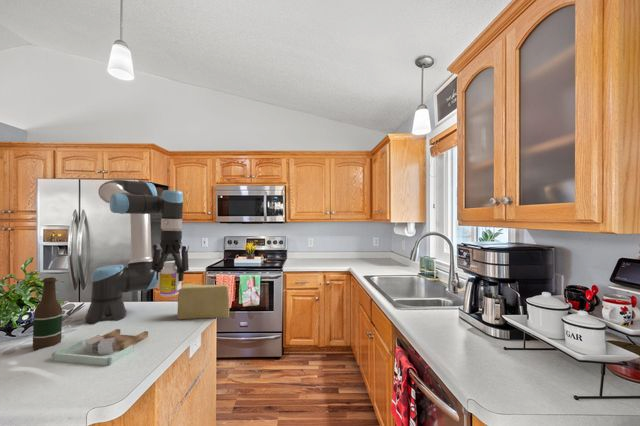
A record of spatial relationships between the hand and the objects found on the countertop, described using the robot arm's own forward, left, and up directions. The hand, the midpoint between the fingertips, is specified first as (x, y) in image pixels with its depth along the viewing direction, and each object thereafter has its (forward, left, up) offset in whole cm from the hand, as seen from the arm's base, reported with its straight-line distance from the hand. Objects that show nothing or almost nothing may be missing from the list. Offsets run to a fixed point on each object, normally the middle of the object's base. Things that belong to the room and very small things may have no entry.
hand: (169, 288), depth 119 cm
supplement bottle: (0, 0, -3) cm, 3 cm away
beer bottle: (+16, -35, -19) cm, 43 cm away
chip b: (+18, -10, -18) cm, 27 cm away
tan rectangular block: (-25, +2, -19) cm, 31 cm away
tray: (+21, -12, -18) cm, 30 cm away
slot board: (+10, -12, -18) cm, 24 cm away
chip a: (+17, -15, -18) cm, 29 cm away
